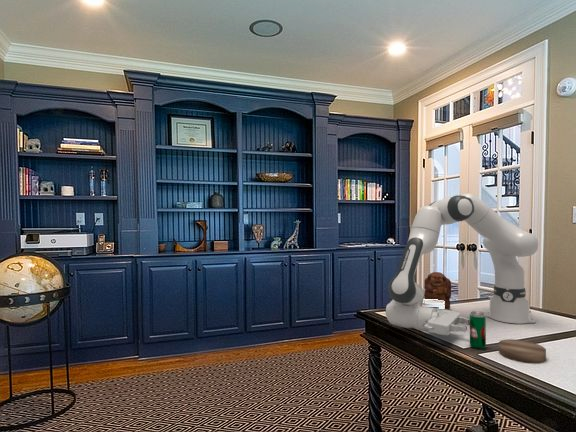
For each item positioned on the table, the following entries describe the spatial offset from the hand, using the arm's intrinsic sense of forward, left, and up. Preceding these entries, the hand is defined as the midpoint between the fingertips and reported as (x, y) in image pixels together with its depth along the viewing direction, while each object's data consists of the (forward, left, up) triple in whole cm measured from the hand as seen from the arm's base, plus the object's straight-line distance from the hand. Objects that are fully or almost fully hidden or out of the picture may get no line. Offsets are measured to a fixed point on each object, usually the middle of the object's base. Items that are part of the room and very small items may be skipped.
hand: (469, 325), depth 131 cm
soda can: (0, +3, -7) cm, 8 cm away
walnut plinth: (0, +16, -7) cm, 17 cm away
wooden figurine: (-45, -22, -7) cm, 51 cm away
